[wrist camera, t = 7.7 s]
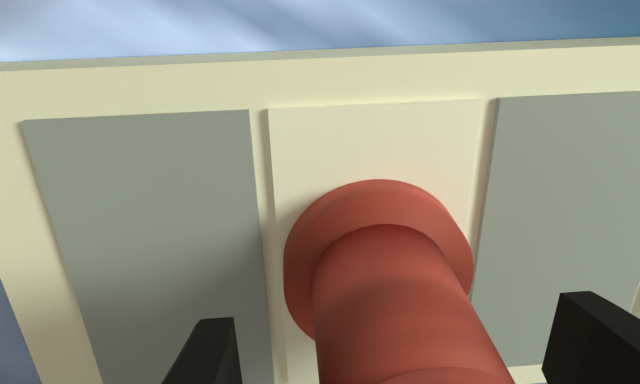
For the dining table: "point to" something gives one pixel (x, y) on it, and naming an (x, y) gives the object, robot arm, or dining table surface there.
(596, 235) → the board
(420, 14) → the dining table surface
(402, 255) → the pawn
